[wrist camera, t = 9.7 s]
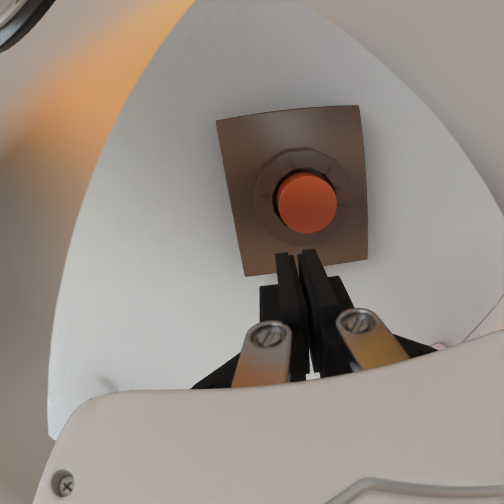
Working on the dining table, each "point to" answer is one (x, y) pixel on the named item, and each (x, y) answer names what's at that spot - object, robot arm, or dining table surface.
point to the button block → (288, 163)
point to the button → (306, 202)
